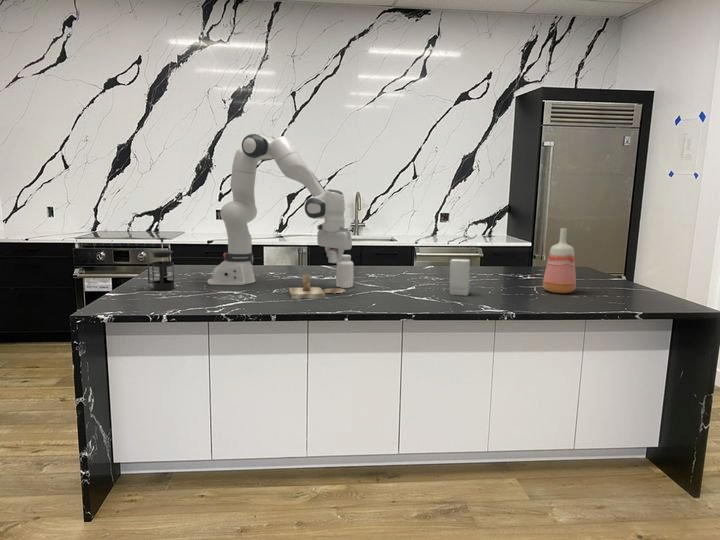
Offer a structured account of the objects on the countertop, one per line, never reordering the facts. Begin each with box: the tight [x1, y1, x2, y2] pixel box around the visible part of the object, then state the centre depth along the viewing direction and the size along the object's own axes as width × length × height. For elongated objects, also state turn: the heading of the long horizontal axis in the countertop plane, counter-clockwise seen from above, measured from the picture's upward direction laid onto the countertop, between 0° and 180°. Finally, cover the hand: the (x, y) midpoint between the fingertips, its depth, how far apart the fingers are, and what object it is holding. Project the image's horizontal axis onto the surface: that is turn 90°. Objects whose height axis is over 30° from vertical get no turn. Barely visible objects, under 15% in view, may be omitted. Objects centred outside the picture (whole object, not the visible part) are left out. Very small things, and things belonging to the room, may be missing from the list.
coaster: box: [322, 287, 346, 295], centre depth 247 cm, size 10×10×1 cm
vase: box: [542, 227, 577, 294], centre depth 254 cm, size 14×14×30 cm
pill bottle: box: [335, 254, 354, 289], centre depth 258 cm, size 8×8×15 cm
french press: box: [147, 237, 176, 292], centre depth 244 cm, size 12×9×23 cm
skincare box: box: [449, 258, 471, 296], centre depth 245 cm, size 8×7×16 cm
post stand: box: [288, 273, 326, 300], centre depth 238 cm, size 14×14×9 cm
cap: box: [328, 248, 341, 264], centre depth 244 cm, size 6×6×6 cm
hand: (334, 257), depth 244 cm, fingers closed on cap, 6 cm apart
